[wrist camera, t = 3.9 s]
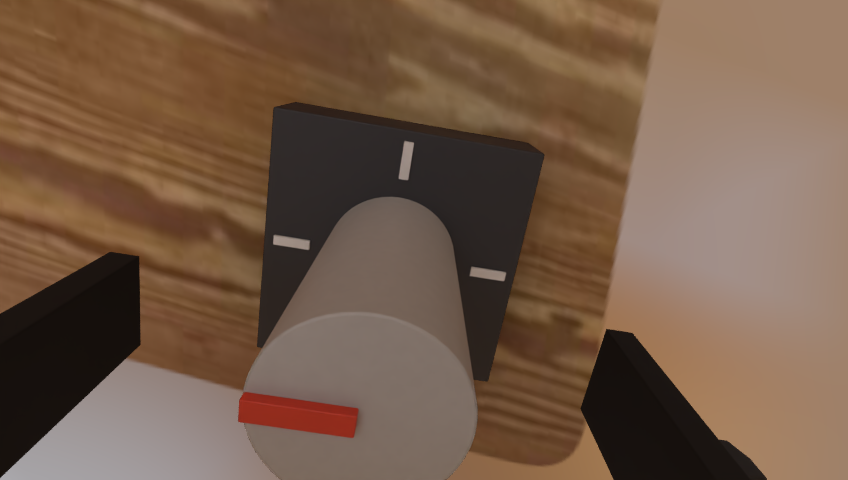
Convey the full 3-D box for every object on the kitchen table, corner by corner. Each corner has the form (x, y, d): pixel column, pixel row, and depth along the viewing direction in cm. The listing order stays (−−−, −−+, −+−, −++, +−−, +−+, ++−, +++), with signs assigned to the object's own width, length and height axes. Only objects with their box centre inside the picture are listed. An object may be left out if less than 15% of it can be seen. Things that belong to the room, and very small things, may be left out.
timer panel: (529, 143, 21) (546, 154, 18) (480, 345, 24) (488, 384, 21) (294, 101, 20) (272, 106, 17) (277, 314, 24) (255, 349, 21)
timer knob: (465, 208, 19) (503, 341, 9) (441, 323, 20) (454, 534, 11) (334, 186, 18) (241, 301, 9) (321, 304, 20) (229, 504, 11)
